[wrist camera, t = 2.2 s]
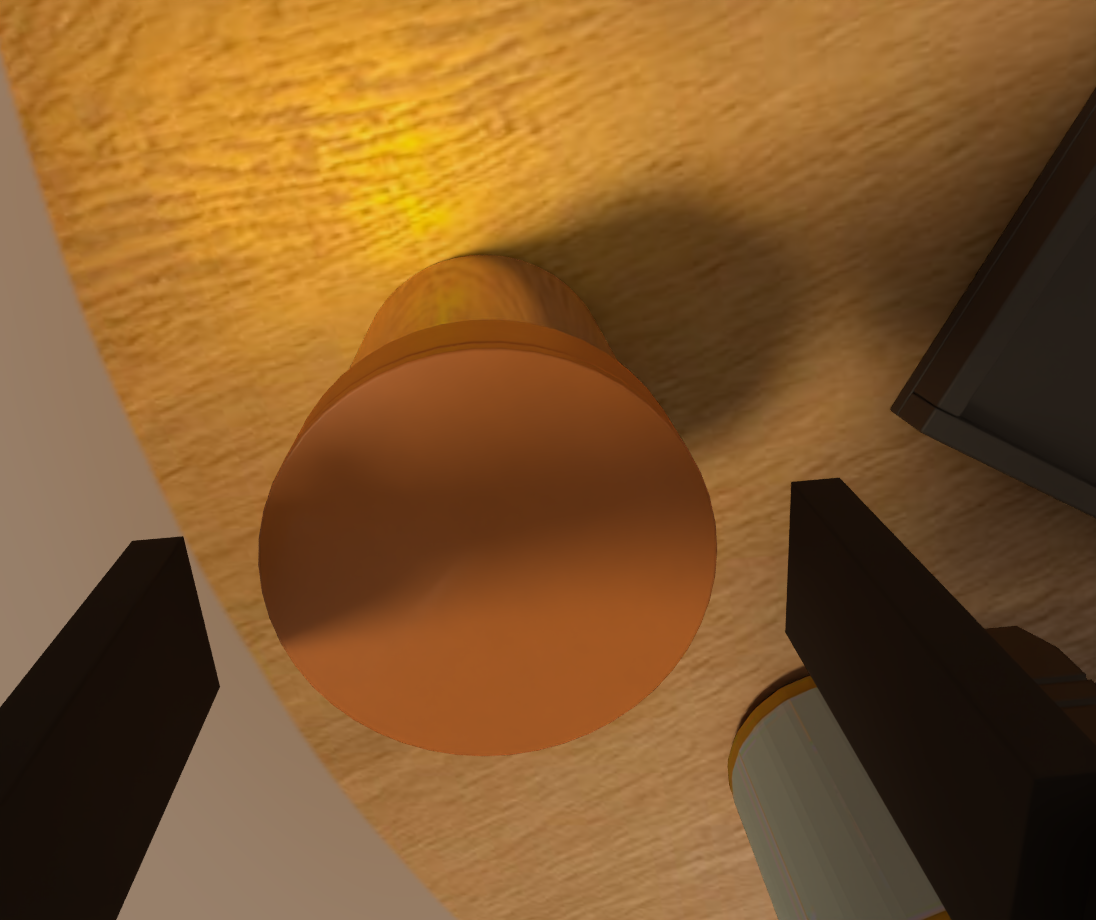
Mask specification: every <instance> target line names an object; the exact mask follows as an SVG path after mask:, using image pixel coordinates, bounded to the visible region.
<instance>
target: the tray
mask: <svg viewBox="0 0 1096 920" xmlns="http://www.w3.org/2000/svg"><path fill="white" fill-rule="evenodd" d="M890 410H891V411H892V412H893V413H894V414H896V415H897V416H899V417H900V418H902V419H903V420H904V421H906V422H907V423H908V424H910V425H911V426H913V427H914V428H915V429H917V430H918V431H919V432H921V433H923V434H925V435H927V436H929V437H931V438H933V439H935V440H937V441H939V442H941V443H943V444H945V445H947V446H949V447H951V448H953V449H955V450H957V451H959V452H961V453H964V454H966V455H968V456H970V457H972V458H974V459H976V460H978V461H980V462H982V463H984V464H986V465H988V466H990V467H992V468H994V469H996V470H998V471H1000V472H1002V473H1004V474H1006V475H1008V476H1010V477H1012V478H1014V479H1016V480H1019V481H1021V482H1023V483H1025V484H1027V485H1029V486H1031V487H1033V488H1035V489H1037V490H1039V491H1041V492H1043V493H1045V494H1047V495H1049V496H1051V497H1053V498H1055V499H1057V500H1059V501H1061V502H1063V503H1065V504H1067V505H1069V506H1071V507H1073V508H1076V509H1078V510H1080V511H1082V512H1084V513H1086V514H1088V515H1090V516H1092V517H1094V518H1096V89H1095V91H1094V92H1093V94H1092V95H1091V97H1090V98H1089V100H1088V101H1087V103H1086V105H1085V106H1084V108H1083V109H1082V111H1081V112H1080V114H1079V115H1078V117H1077V119H1076V120H1075V122H1074V123H1073V125H1072V126H1071V128H1070V130H1069V131H1068V133H1067V134H1066V136H1065V137H1064V139H1063V140H1062V142H1061V144H1060V145H1059V147H1058V148H1057V150H1056V151H1055V153H1054V154H1053V156H1052V158H1051V159H1050V161H1049V162H1048V164H1047V165H1046V167H1045V169H1044V170H1043V172H1042V173H1041V175H1040V176H1039V178H1038V179H1037V181H1036V183H1035V184H1034V186H1033V187H1032V189H1031V190H1030V192H1029V193H1028V195H1027V197H1026V198H1025V200H1024V201H1023V203H1022V204H1021V206H1020V208H1019V209H1018V211H1017V212H1016V214H1015V215H1014V217H1013V218H1012V220H1011V222H1010V223H1009V225H1008V226H1007V228H1006V229H1005V231H1004V232H1003V234H1002V236H1001V237H1000V239H999V240H998V242H997V243H996V245H995V247H994V248H993V250H992V251H991V253H990V254H989V256H988V257H987V259H986V261H985V262H984V264H983V265H982V267H981V268H980V270H979V272H978V273H977V275H976V276H975V278H974V279H973V281H972V282H971V284H970V286H969V287H968V289H967V290H966V292H965V293H964V295H963V296H962V298H961V300H960V301H959V303H958V304H957V306H956V307H955V309H954V311H953V312H952V314H951V315H950V317H949V318H948V320H947V321H946V323H945V325H944V326H943V328H942V329H941V331H940V332H939V334H938V335H937V337H936V339H935V340H934V342H933V343H932V345H931V346H930V348H929V350H928V351H927V353H926V354H925V356H924V357H923V359H922V360H921V362H920V364H919V365H918V367H917V368H916V370H915V371H914V373H913V374H912V376H911V378H910V379H909V381H908V382H907V384H906V385H905V387H904V389H903V390H902V392H901V393H900V395H899V396H898V398H897V399H896V401H895V403H894V404H893V406H892V407H891V409H890Z"/></svg>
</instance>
